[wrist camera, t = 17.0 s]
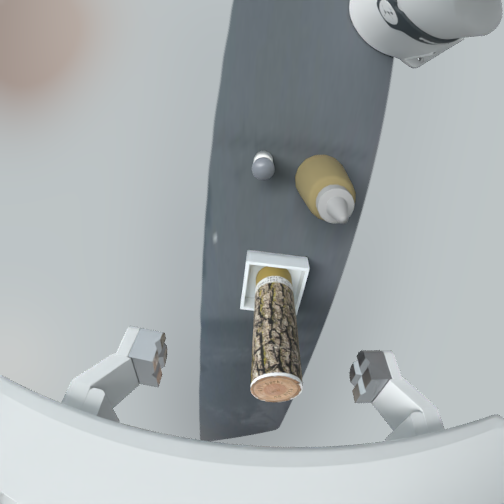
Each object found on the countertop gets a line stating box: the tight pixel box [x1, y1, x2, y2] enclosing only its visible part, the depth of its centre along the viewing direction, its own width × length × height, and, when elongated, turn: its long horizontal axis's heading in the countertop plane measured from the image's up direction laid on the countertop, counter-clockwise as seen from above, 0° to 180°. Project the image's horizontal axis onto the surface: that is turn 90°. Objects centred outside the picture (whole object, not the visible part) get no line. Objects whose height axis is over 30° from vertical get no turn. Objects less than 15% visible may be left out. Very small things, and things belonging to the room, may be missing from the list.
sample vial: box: [252, 151, 275, 180], centre depth 43 cm, size 3×3×6 cm
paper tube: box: [250, 266, 303, 402], centre depth 46 cm, size 7×7×25 cm
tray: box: [240, 250, 310, 315], centre depth 56 cm, size 11×11×4 cm
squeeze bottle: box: [295, 155, 356, 224], centre depth 39 cm, size 8×8×18 cm
